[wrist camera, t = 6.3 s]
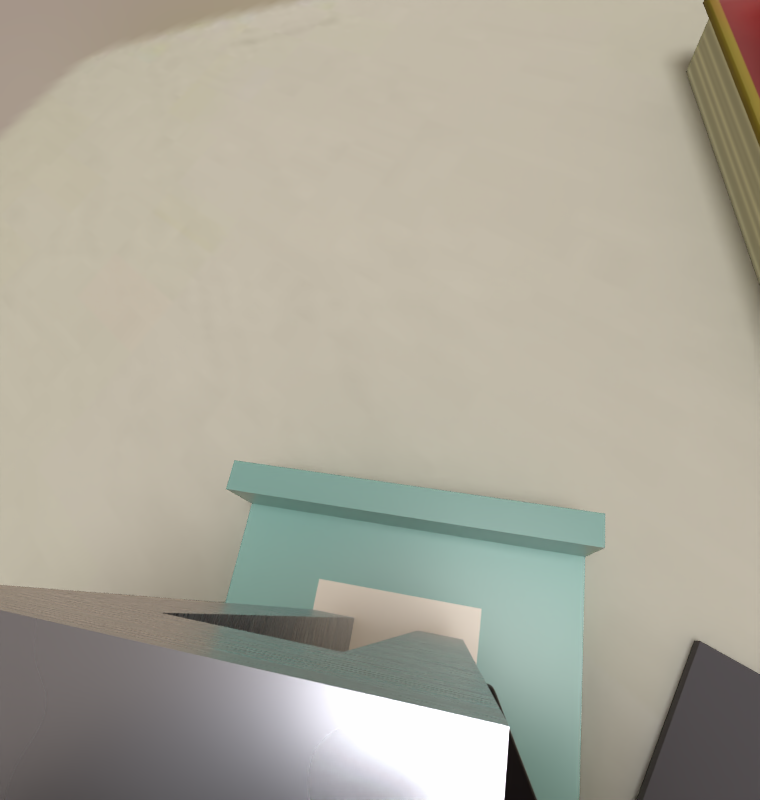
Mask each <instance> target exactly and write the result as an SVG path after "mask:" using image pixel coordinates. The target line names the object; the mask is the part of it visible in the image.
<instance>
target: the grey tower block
mask: <svg viewBox="0 0 760 800" xmlns="http://www.w3.org/2000/svg"><path fill="white" fill-rule="evenodd" d="M353 623H354V618H353V617H348V616H343V615H338V614H333V613H328V612H323V611H318V610H313V609H301V608H288V607H275V606H262V605H250V604H237V603H224V602H211V601H199V600H186V599H173V598H160V597H147V596H135V595H122V594H109V593H96V592H84V591H71V590H58V589H45V588H32V587H20V586H7V585H0V800H504V796H505V782H506V767H507V753H508V739H509V725H508V723H507V721H506V719H505V717H504V715H503V714H502V712H501V710H500V708H499V706H498V704H497V702H496V701H495V699H494V697H493V695H492V693H491V691H490V689H489V688H488V686H487V684H486V682H485V680H484V678H483V676H482V674H481V673H480V671H479V669H478V667H477V665H476V663H475V661H474V660H473V658H472V656H471V654H470V652H469V650H468V648H467V646H466V645H465V643H464V641H463V639H458V638H453V637H448V636H443V635H438V634H433V633H428V632H423V631H414V632H411V633H407V634H404V635H400V636H397V637H393V638H390V639H386V640H383V641H379V642H376V643H373V644H369V645H366V646H362V647H359V648H355V649H352V650H349V645H350V640H351V634H352V629H353Z"/></svg>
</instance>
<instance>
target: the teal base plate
mask: <svg viewBox="0 0 760 800" xmlns="http://www.w3.org/2000/svg"><path fill="white" fill-rule="evenodd" d="M226 489H227V490H229V491H231V492H233V493H234V494H236V495H238V496H240V497H241V498H243V499H245V500H247V501H249V502H250V503H252V506H251V509H250V513H249V517H248V520H247V524H246V528H245V532H244V535H243V539H242V543H241V546H240V550H239V554H238V557H237V561H236V565H235V569H234V572H233V576H232V580H231V583H230V587H229V591H228V595H227V598H226V602H225V603H237V604H250V605H262V606H275V607H288V608H301V609H313V610H318V611H323V612H328V613H333V614H338V615H343V616H348V617H353V618H354V623H353V629H352V634H351V640H350V645H349V650H352V649H355V648H359V647H362V646H366V645H369V644H373V643H376V642H379V641H383V640H386V639H390V638H393V637H397V636H400V635H404V634H407V633H411V632H414V631H423V632H428V633H433V634H438V635H443V636H448V637H453V638H458V639H463V641H464V643H465V645H466V646H467V648H468V650H469V652H470V654H471V656H472V658H473V660H474V661H475V663H476V665H477V667H478V669H479V671H480V673H481V674H482V676H483V678H484V680H485V682H486V683H487V684H490V685H491V686H492V687H493V688H494V690H495V692H496V694H497V697H498V700H499V702H500V705H501V707H502V710H503V712H504V715H505V718H506V720H507V723H508V725H509V728H510V731H511V733H512V736H513V738H514V741H515V744H516V746H517V749H518V751H519V754H520V757H521V759H522V762H523V764H524V767H525V769H526V772H527V775H528V777H529V780H530V782H531V785H532V788H533V790H534V793H535V795H536V798H537V800H579V791H580V749H581V707H582V665H583V623H584V581H585V557H586V556H588V555H590V554H592V553H595V552H597V551H599V550H601V549H603V548H605V514H604V513H597V512H590V511H583V510H576V509H569V508H562V507H555V506H548V505H541V504H534V503H527V502H520V501H514V500H507V499H500V498H493V497H486V496H479V495H472V494H465V493H458V492H451V491H444V490H437V489H430V488H423V487H416V486H409V485H402V484H395V483H388V482H381V481H375V480H368V479H361V478H354V477H347V476H340V475H333V474H326V473H319V472H312V471H305V470H298V469H291V468H284V467H277V466H270V465H263V464H256V463H249V462H242V461H236V460H234V464H233V467H232V471H231V474H230V478H229V481H228V484H227V488H226Z"/></svg>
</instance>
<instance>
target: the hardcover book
mask: <svg viewBox="0 0 760 800" xmlns="http://www.w3.org/2000/svg"><path fill="white" fill-rule="evenodd" d="M703 4H704V7H705V9H706V12H707V14H708V17H709V20H708V22H707V24H706V27H705V29H704V31H703V34H702V36H701V38H700V41H699V43H698V45H697V48H696V50H695V52H694V55H693V57H692V59H691V62H690V64H689V66H688V69H687V71H686V72H687V75H688V78H689V81H690V84H691V87H692V90H693V93H694V96H695V99H696V102H697V104H698V107H699V110H700V113H701V116H702V119H703V122H704V125H705V128H706V131H707V134H708V136H709V139H710V142H711V145H712V148H713V151H714V154H715V157H716V160H717V163H718V166H719V168H720V171H721V174H722V177H723V180H724V183H725V186H726V189H727V192H728V195H729V197H730V200H731V203H732V206H733V209H734V212H735V215H736V218H737V221H738V224H739V227H740V229H741V232H742V235H743V238H744V241H745V244H746V247H747V250H748V253H749V256H750V259H751V261H752V264H753V267H754V270H755V273H756V276H757V279H758V282H759V285H760V0H704V2H703Z"/></svg>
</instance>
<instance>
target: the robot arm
mask: <svg viewBox="0 0 760 800" xmlns="http://www.w3.org/2000/svg"><path fill="white" fill-rule="evenodd" d="M486 684H487V683H486ZM487 686H488V688H489V689H490V691H491V693H492V695H493V697H494V699H495V701H496V702H497V704H498V706H499V708H500V710H501V712H502V714H503V715H504V712H503V710H502V707H501V705H500V702H499V700H498V697H497V694H496V692H495V690H494V688H493V687H492V686H491V685H490V684H487ZM504 717H505V715H504ZM505 719H506V718H505ZM506 721H507V720H506ZM504 800H537V798H536V795H535V793H534V790H533V788H532V785H531V782H530V780H529V777H528V775H527V772H526V769H525V767H524V764H523V762H522V759H521V757H520V754H519V751H518V749H517V746H516V744H515V741H514V738H513V736H512V733H511V731H510V728H509V739H508V753H507V767H506V782H505V796H504Z"/></svg>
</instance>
